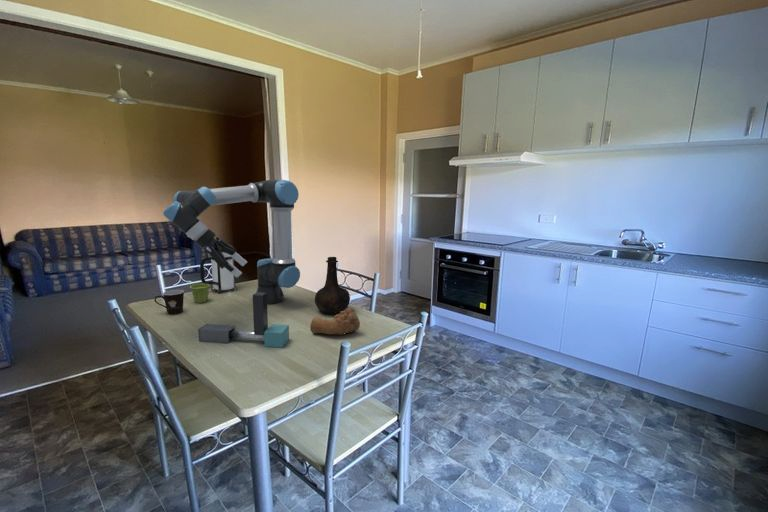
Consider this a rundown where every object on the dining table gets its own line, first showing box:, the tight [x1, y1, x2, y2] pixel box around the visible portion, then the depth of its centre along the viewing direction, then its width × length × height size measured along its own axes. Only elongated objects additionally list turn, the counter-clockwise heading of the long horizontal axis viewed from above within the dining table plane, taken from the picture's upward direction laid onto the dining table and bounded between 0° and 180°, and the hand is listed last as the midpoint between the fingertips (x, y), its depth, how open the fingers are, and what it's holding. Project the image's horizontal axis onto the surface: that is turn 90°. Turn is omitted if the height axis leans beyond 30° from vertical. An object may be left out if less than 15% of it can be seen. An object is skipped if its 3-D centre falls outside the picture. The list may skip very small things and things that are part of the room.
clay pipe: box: [309, 307, 361, 336], centre depth 149 cm, size 19×11×15 cm
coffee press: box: [199, 239, 238, 294], centre depth 200 cm, size 17×16×30 cm
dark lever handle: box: [229, 291, 269, 341], centre depth 136 cm, size 19×4×19 cm, turn 87°
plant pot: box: [189, 283, 211, 304], centre depth 182 cm, size 9×9×9 cm
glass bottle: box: [314, 256, 351, 314], centre depth 173 cm, size 18×18×28 cm
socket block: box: [263, 324, 290, 348], centre depth 137 cm, size 7×8×6 cm
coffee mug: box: [154, 289, 185, 315], centre depth 166 cm, size 12×9×10 cm
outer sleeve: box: [197, 323, 237, 344], centre depth 139 cm, size 12×6×5 cm, turn 87°
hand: (242, 269), depth 148 cm, fingers open, 13 cm apart
